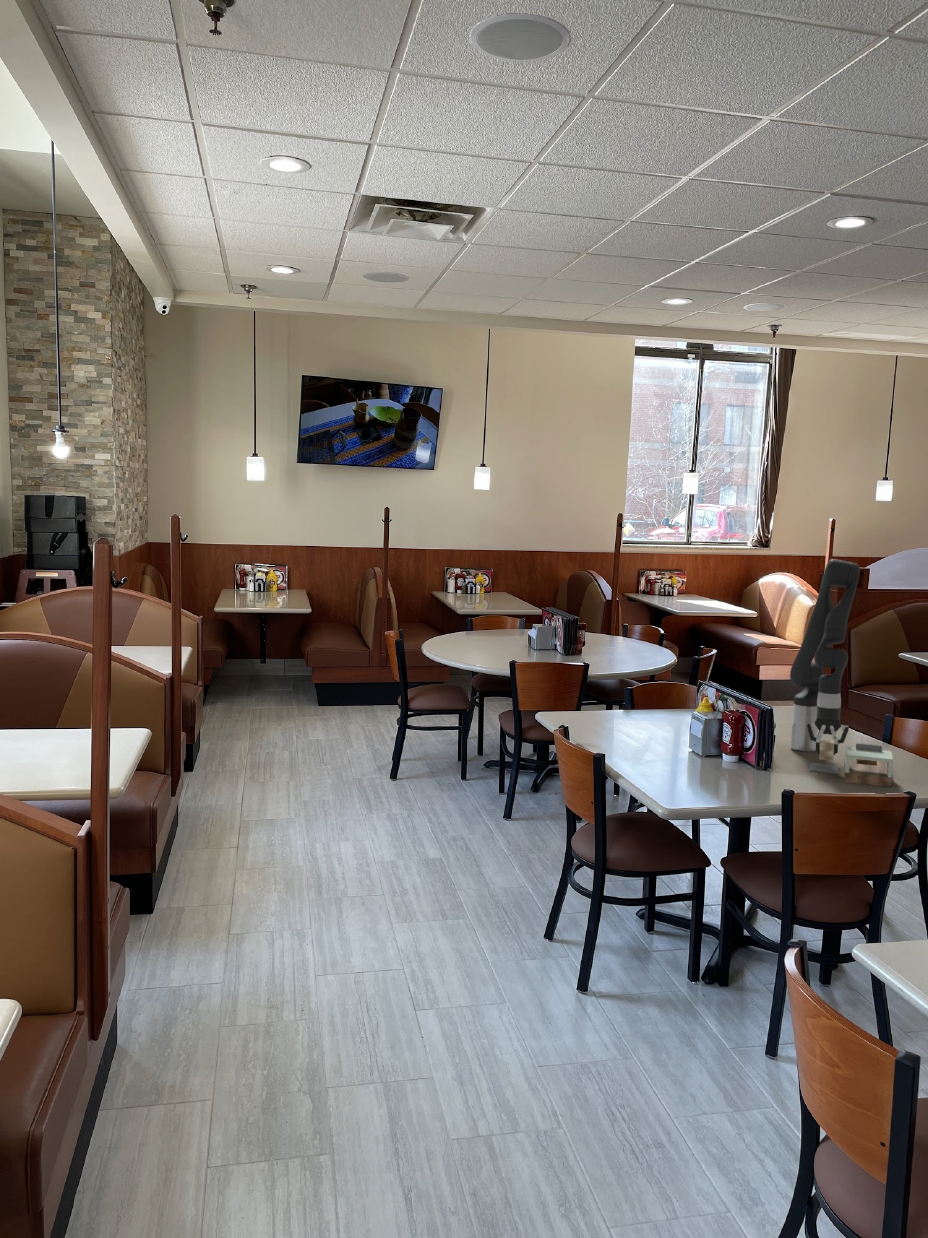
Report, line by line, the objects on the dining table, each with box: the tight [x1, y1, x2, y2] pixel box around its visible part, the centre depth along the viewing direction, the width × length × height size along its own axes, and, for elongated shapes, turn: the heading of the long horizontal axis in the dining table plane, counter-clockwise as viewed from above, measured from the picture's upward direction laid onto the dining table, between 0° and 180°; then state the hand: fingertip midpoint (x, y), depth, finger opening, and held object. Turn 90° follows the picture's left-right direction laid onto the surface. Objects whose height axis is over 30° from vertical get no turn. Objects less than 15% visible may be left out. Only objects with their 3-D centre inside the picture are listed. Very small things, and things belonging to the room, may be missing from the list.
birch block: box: [818, 738, 835, 761], centre depth 312 cm, size 4×4×6 cm
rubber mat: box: [809, 762, 839, 775], centre depth 313 cm, size 9×9×1 cm
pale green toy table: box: [844, 742, 894, 778], centre depth 300 cm, size 14×11×8 cm
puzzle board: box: [843, 754, 893, 788], centre depth 307 cm, size 14×25×3 cm, turn 157°
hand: (826, 753), depth 312 cm, fingers closed on birch block, 4 cm apart
